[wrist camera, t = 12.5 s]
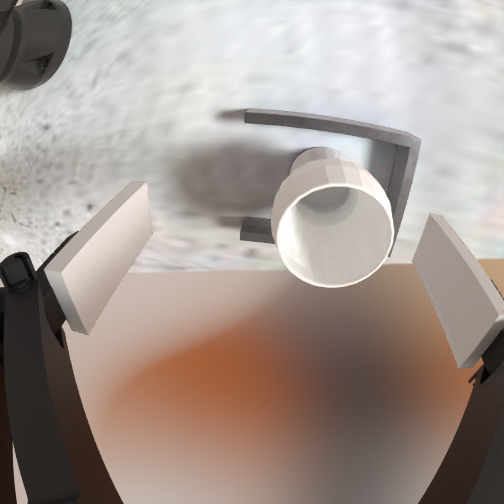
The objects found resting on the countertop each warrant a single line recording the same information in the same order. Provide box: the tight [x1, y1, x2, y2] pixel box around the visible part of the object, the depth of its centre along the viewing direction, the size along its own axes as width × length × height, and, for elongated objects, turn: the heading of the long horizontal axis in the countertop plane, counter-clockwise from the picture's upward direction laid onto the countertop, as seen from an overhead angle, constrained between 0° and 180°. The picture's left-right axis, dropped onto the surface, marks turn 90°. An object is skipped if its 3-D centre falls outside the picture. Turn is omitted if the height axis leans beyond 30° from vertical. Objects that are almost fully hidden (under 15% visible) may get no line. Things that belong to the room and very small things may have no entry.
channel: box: [240, 108, 421, 257], centre depth 33 cm, size 19×15×4 cm
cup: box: [271, 147, 394, 287], centre depth 28 cm, size 11×11×15 cm
